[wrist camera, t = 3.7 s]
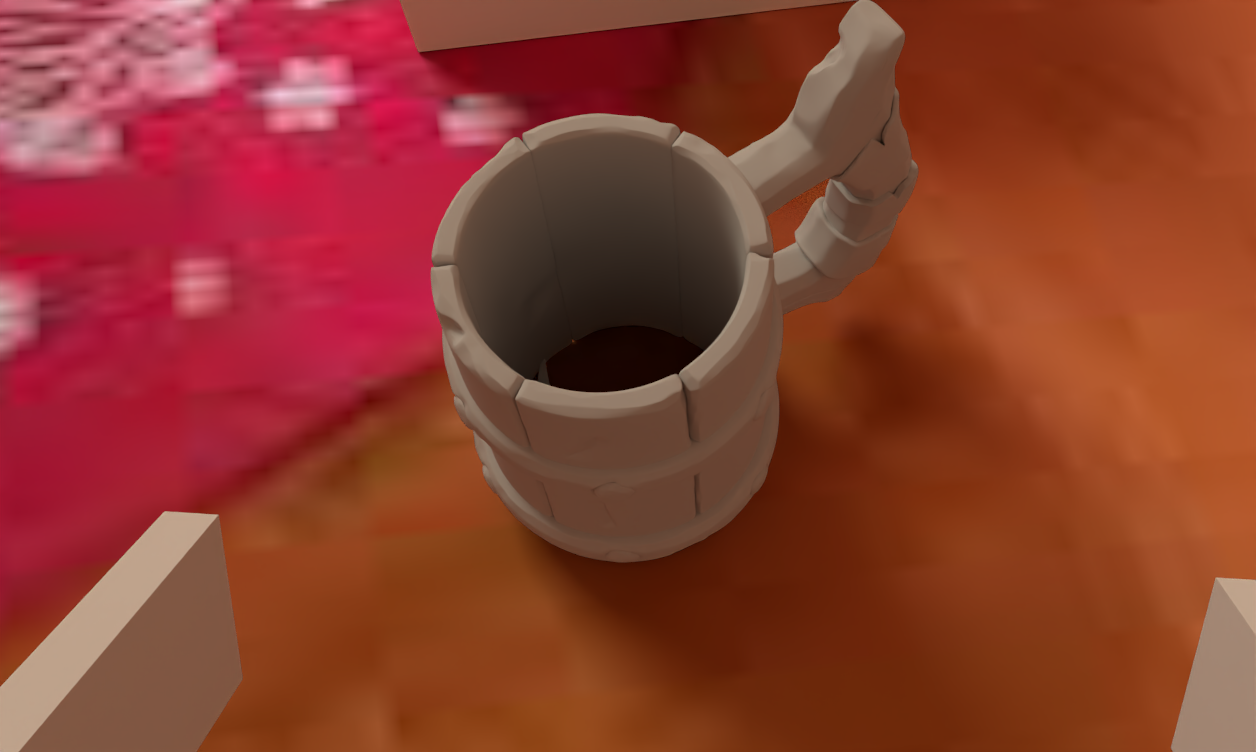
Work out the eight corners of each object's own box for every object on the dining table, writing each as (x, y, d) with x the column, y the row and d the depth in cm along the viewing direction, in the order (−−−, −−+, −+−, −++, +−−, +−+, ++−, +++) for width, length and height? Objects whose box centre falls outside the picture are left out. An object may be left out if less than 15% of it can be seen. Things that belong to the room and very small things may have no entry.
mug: (431, 398, 30) (278, 152, 19) (783, 175, 32) (831, -166, 21) (586, 635, 28) (514, 510, 17) (958, 377, 30) (1118, 110, 19)
